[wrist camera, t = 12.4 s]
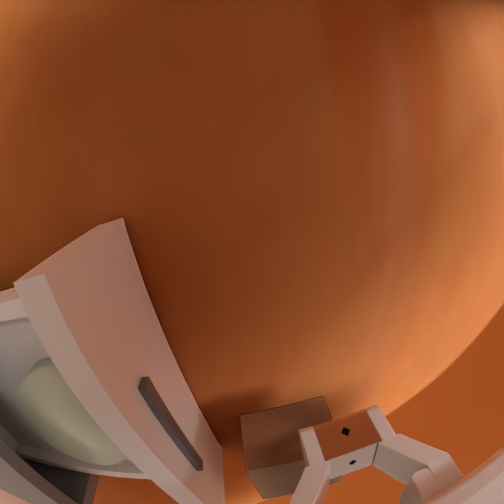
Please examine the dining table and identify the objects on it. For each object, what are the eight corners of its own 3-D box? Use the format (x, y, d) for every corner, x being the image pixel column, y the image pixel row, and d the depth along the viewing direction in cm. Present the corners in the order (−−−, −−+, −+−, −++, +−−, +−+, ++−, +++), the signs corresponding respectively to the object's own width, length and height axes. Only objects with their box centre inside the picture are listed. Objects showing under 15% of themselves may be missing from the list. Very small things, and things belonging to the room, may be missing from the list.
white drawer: (129, 215, 10) (53, 271, 5) (226, 448, 16) (231, 521, 10) (-63, 288, 10) (-108, 324, 4) (34, 441, 15) (16, 486, 10)
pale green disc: (111, 360, 10) (96, 391, 8) (148, 443, 12) (143, 471, 10) (15, 351, 10) (-4, 374, 8) (60, 430, 11) (50, 453, 10)
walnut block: (323, 395, 15) (344, 447, 11) (325, 437, 17) (341, 480, 13) (239, 415, 15) (245, 470, 11) (256, 453, 16) (262, 499, 13)
